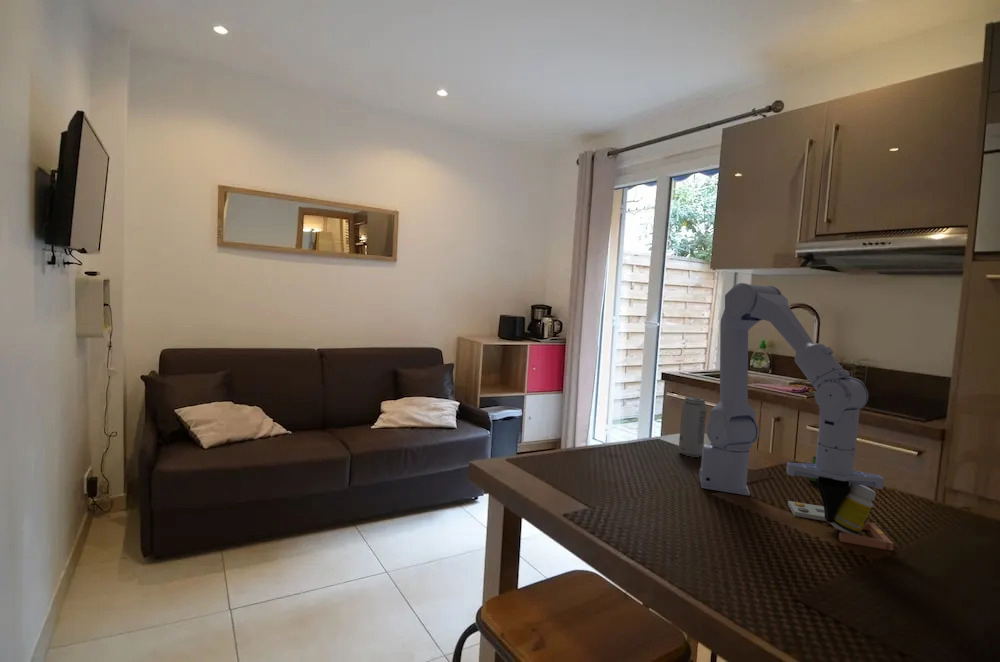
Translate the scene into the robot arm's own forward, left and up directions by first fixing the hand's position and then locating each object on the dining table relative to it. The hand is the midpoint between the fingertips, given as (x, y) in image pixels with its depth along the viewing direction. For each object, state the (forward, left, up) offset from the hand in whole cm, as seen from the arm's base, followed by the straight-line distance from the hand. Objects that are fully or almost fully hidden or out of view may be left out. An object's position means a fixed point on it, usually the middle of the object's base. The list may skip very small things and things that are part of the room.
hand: (828, 520), depth 92 cm
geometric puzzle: (+6, +30, -2) cm, 30 cm away
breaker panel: (+1, +8, -2) cm, 8 cm away
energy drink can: (-22, +39, -2) cm, 45 cm away
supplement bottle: (+2, 0, -1) cm, 3 cm away
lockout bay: (+5, 0, -2) cm, 5 cm away
